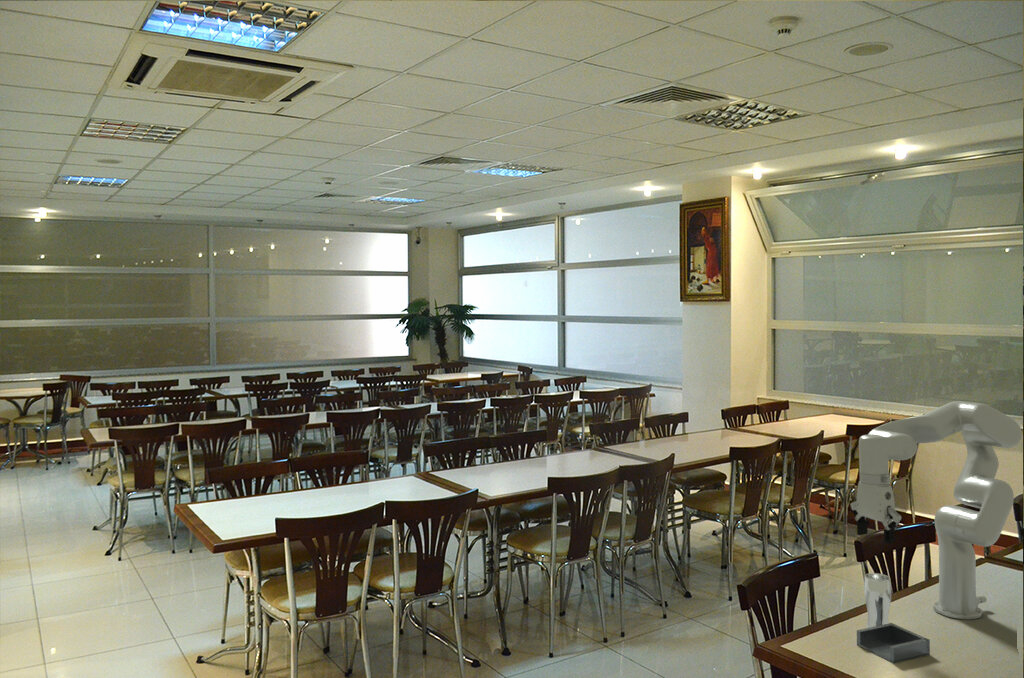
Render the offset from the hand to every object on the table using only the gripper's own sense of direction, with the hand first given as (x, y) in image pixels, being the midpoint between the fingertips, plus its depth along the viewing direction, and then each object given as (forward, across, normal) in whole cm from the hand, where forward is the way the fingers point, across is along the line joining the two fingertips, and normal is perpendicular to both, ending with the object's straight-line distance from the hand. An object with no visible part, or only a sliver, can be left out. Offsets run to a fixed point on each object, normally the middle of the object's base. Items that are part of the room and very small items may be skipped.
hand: (875, 538), depth 222 cm
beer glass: (+26, 0, 0) cm, 26 cm away
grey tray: (+26, -12, +7) cm, 29 cm away
